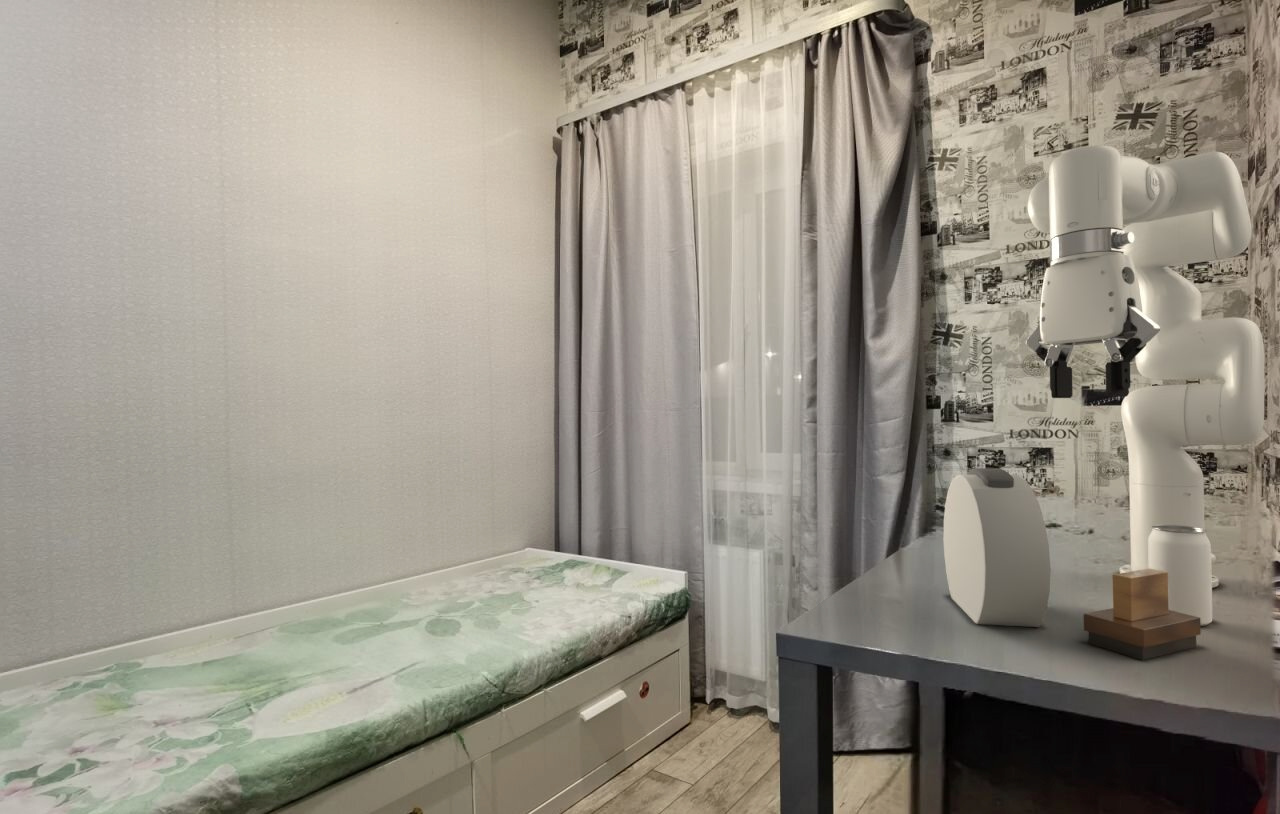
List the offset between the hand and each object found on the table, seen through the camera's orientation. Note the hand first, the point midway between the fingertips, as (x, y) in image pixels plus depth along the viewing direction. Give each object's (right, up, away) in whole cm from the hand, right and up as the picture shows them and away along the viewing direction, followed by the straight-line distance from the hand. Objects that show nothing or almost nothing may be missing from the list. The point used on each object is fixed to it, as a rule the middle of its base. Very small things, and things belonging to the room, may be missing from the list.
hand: (1088, 395), depth 82 cm
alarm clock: (-6, -30, +11) cm, 32 cm away
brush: (+4, -30, -4) cm, 30 cm away
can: (+16, -30, +6) cm, 34 cm away
